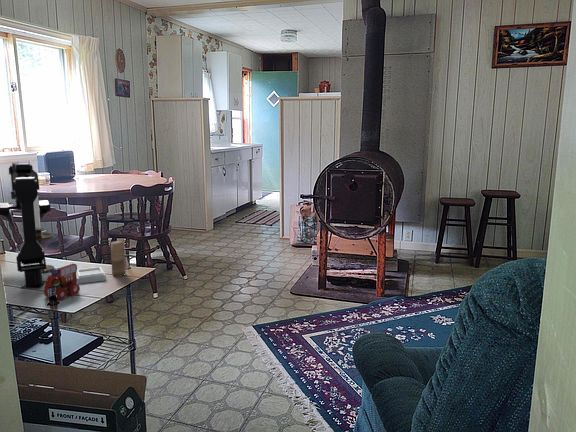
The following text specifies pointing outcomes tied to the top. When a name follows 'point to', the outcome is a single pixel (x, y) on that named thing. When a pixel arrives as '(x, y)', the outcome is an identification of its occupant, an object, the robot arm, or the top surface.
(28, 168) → the robot arm
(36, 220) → the candlestick
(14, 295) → the top surface
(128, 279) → the top surface
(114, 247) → the walnut pillar
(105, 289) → the top surface
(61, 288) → the toy fire truck
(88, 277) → the base plate
